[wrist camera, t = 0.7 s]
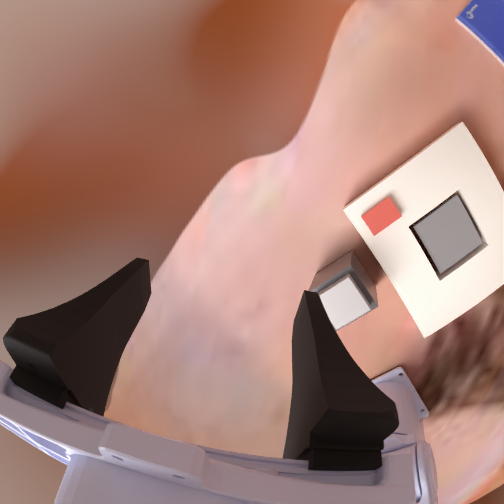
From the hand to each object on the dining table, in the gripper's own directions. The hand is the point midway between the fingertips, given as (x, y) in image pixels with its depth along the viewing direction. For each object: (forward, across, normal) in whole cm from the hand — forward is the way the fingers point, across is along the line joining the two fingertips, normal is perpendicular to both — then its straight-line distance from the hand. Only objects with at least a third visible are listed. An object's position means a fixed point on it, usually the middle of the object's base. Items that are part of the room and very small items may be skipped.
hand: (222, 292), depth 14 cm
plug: (+14, -10, +8) cm, 19 cm away
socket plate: (+14, -18, 0) cm, 23 cm away
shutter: (+12, -18, 0) cm, 22 cm away
